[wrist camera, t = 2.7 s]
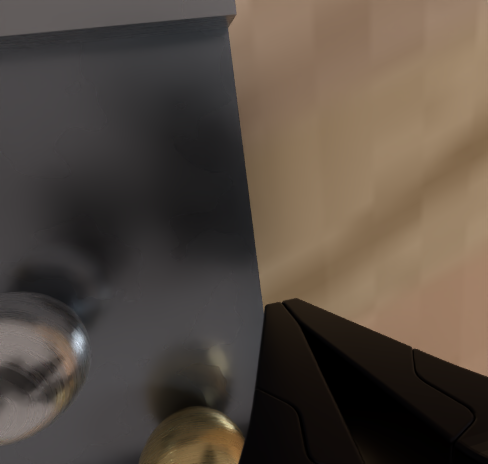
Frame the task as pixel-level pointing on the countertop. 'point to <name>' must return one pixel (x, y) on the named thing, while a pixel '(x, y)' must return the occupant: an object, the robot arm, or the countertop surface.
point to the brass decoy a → (194, 439)
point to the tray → (130, 212)
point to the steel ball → (38, 363)
